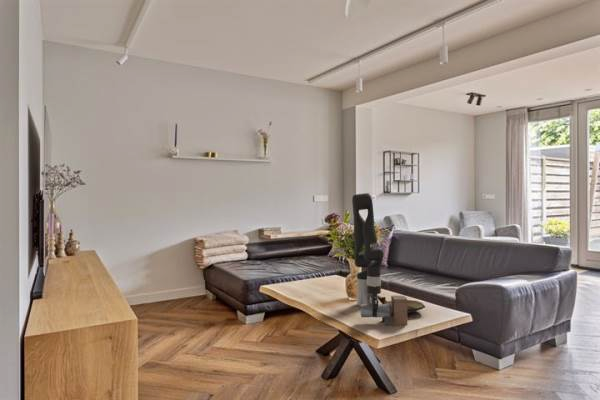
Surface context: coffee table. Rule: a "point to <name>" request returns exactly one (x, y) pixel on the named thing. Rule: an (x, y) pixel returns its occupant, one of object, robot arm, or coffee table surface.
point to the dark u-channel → (397, 311)
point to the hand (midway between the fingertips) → (374, 315)
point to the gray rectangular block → (381, 312)
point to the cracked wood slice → (411, 304)
